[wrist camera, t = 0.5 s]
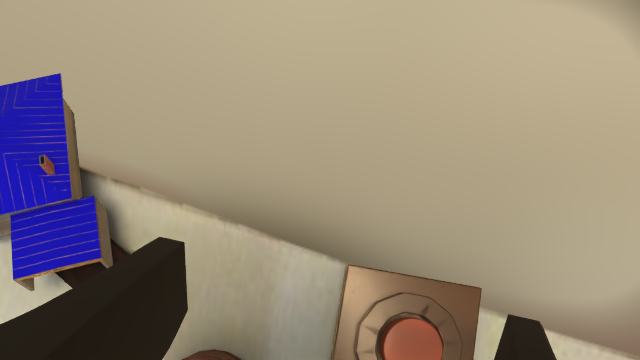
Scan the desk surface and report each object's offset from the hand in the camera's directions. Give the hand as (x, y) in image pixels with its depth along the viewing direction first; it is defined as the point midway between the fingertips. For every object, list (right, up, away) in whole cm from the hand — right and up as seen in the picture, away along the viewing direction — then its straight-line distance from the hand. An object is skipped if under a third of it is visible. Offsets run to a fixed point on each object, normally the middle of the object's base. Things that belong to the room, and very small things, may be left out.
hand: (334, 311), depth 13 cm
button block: (+5, -8, +28) cm, 30 cm away
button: (+5, -8, +25) cm, 26 cm away
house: (-20, +3, +29) cm, 35 cm away
